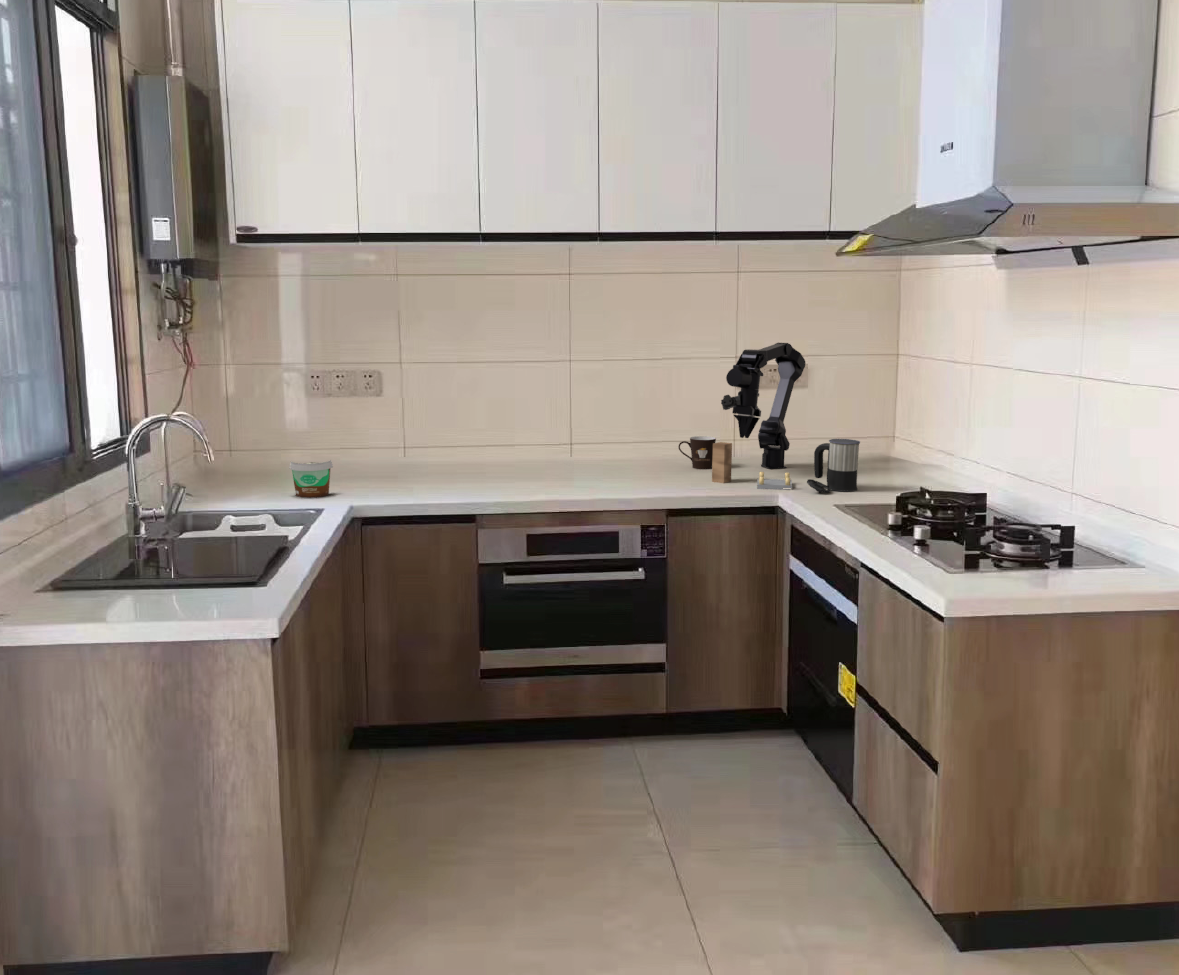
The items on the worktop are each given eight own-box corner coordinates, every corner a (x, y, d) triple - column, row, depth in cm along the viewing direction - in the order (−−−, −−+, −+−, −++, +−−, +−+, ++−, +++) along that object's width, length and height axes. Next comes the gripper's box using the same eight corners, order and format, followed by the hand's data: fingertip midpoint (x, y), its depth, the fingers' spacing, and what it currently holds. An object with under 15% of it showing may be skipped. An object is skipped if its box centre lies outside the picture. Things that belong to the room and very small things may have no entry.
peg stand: (757, 482, 349) (757, 471, 348) (791, 483, 348) (791, 472, 347) (757, 488, 339) (757, 477, 338) (792, 489, 337) (792, 478, 337)
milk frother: (859, 487, 341) (862, 439, 339) (853, 497, 327) (855, 446, 324) (812, 484, 346) (814, 436, 343) (804, 493, 332) (806, 444, 329)
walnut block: (719, 479, 354) (720, 441, 351) (731, 481, 351) (732, 443, 349) (711, 481, 350) (712, 443, 348) (723, 483, 348) (724, 444, 345)
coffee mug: (719, 467, 376) (720, 437, 375) (708, 470, 369) (708, 440, 367) (688, 463, 383) (689, 434, 381) (676, 467, 375) (677, 437, 374)
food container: (291, 499, 320) (289, 464, 318) (290, 495, 326) (288, 461, 324) (335, 497, 323) (334, 462, 321) (334, 493, 329) (332, 459, 327)
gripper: (730, 388, 370) (724, 435, 371) (719, 385, 352) (713, 434, 353) (763, 391, 366) (758, 439, 367) (754, 388, 349) (748, 438, 350)
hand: (744, 437), depth 359 cm, fingers open, 9 cm apart
